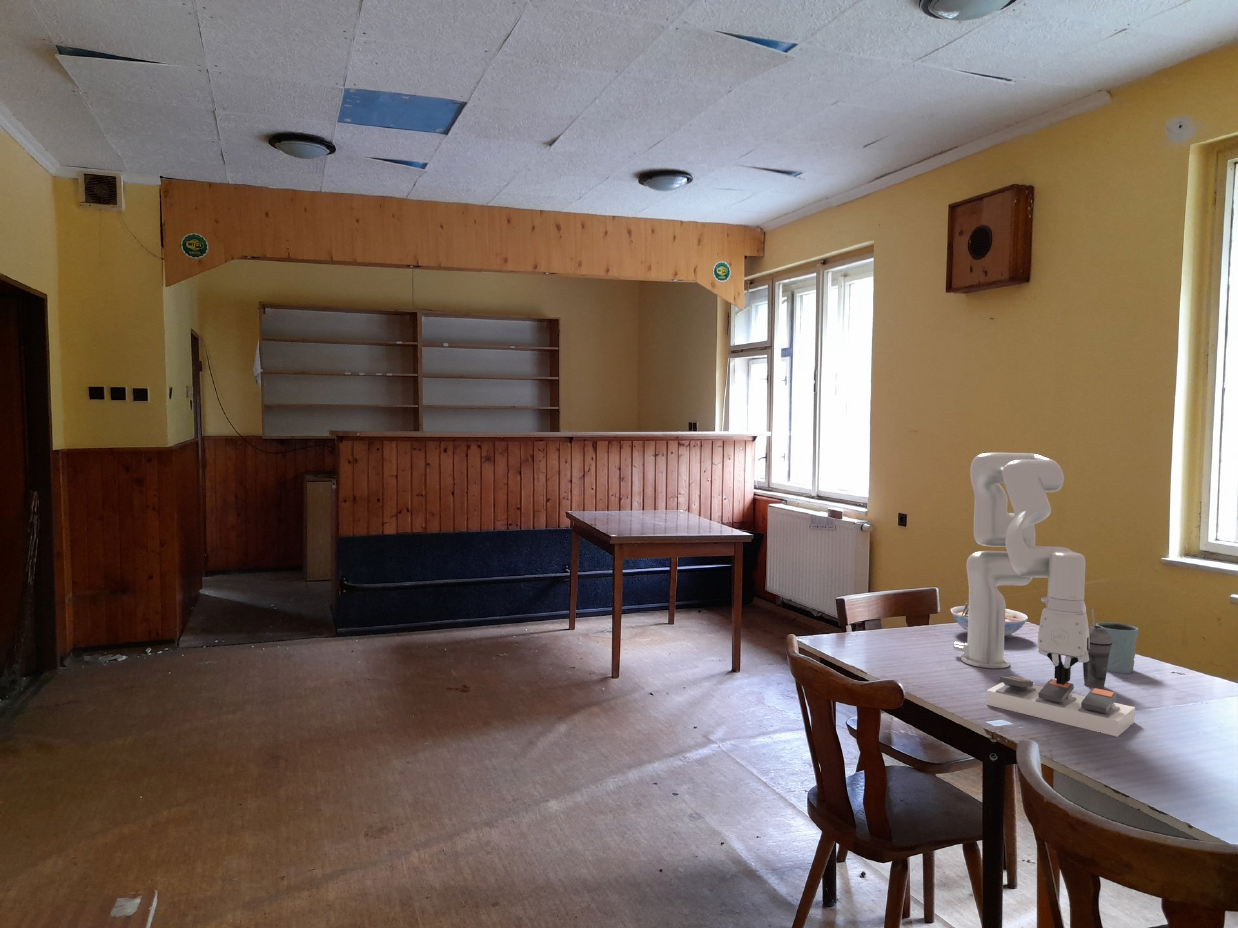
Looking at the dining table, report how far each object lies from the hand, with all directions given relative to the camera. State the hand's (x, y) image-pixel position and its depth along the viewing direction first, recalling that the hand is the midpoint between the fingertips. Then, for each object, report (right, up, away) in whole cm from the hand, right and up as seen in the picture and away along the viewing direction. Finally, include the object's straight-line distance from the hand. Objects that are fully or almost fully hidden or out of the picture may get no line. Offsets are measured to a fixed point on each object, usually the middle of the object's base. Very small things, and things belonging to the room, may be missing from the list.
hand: (1062, 682), depth 197 cm
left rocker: (-9, -2, +4) cm, 10 cm away
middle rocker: (-2, -2, -2) cm, 4 cm away
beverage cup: (+20, -7, +21) cm, 30 cm away
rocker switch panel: (-1, -7, 0) cm, 7 cm away
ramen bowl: (+14, -4, +72) cm, 74 cm away
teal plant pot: (+34, -6, +38) cm, 51 cm away
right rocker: (+4, -2, -8) cm, 10 cm away
